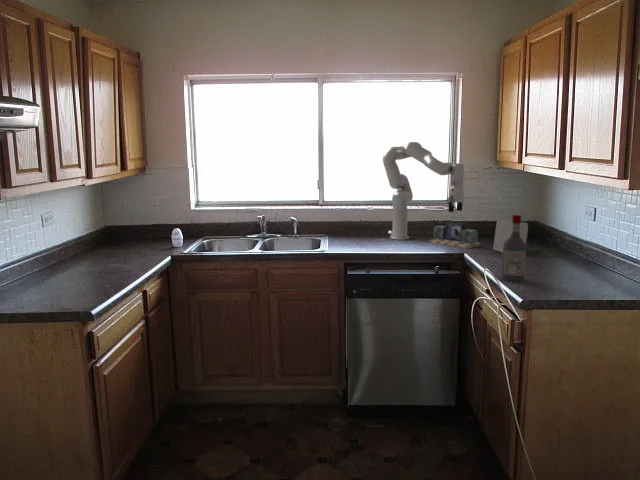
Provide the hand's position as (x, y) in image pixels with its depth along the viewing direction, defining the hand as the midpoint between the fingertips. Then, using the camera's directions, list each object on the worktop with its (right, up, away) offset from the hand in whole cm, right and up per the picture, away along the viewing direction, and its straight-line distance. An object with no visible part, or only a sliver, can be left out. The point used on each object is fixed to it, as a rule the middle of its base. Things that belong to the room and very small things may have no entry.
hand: (455, 211), depth 339 cm
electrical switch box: (+28, -25, -20) cm, 42 cm away
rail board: (0, -20, +3) cm, 21 cm away
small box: (0, -18, +3) cm, 18 cm away
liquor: (+6, -36, -85) cm, 92 cm away
